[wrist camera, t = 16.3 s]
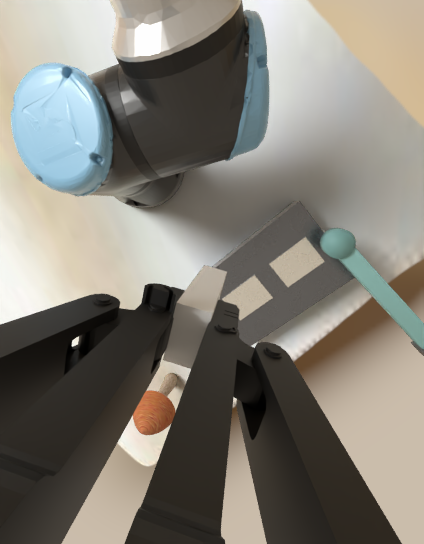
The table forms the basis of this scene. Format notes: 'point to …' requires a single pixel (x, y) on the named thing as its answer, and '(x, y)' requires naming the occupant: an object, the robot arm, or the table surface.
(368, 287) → the green knobbed rod
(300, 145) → the table surface
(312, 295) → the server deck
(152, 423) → the mushroom
